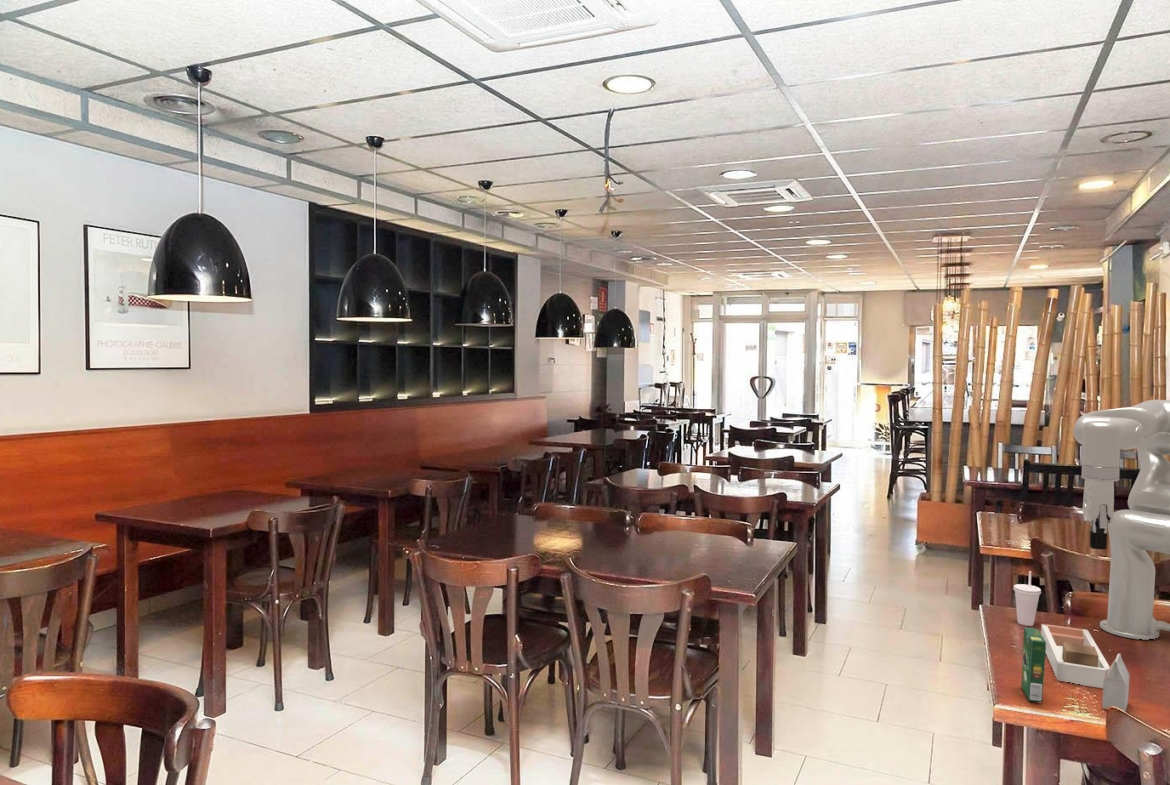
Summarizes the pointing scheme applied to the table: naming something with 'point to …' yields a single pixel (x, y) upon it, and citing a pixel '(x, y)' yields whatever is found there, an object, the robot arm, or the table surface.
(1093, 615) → the table surface
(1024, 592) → the smoothie
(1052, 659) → the box
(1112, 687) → the milk carton
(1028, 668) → the coffee box
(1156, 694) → the table surface
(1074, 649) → the block
